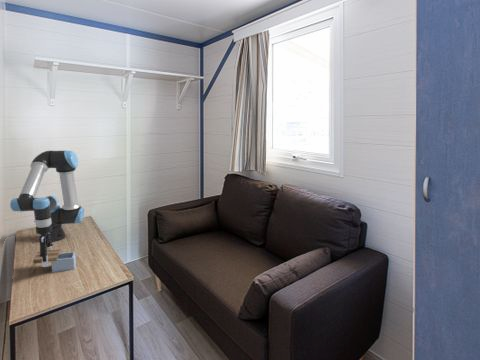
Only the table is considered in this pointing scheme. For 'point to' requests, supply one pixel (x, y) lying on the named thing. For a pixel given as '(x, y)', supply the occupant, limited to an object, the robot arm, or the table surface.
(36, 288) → the table surface
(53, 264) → the slide box
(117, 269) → the table surface
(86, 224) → the table surface
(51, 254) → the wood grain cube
